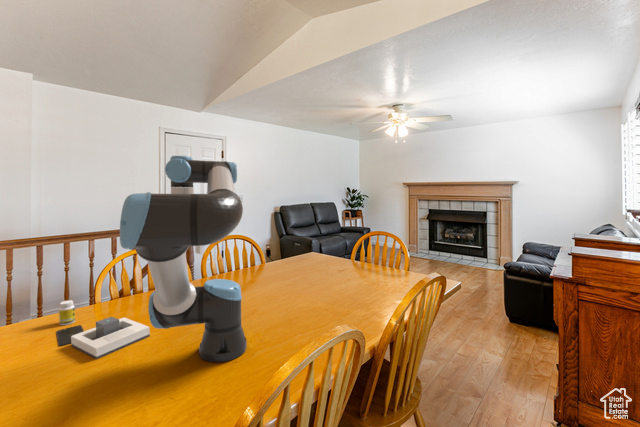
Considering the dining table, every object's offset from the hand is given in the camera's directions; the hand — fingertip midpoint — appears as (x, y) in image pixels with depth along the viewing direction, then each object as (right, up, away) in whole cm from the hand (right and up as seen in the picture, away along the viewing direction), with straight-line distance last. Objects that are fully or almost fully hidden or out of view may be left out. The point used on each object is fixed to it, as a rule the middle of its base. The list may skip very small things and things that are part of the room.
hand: (183, 256), depth 109 cm
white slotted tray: (-23, -29, -5) cm, 37 cm away
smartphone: (-40, -29, -2) cm, 49 cm away
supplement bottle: (-50, -28, +8) cm, 57 cm away
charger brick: (-25, -28, -4) cm, 37 cm away
